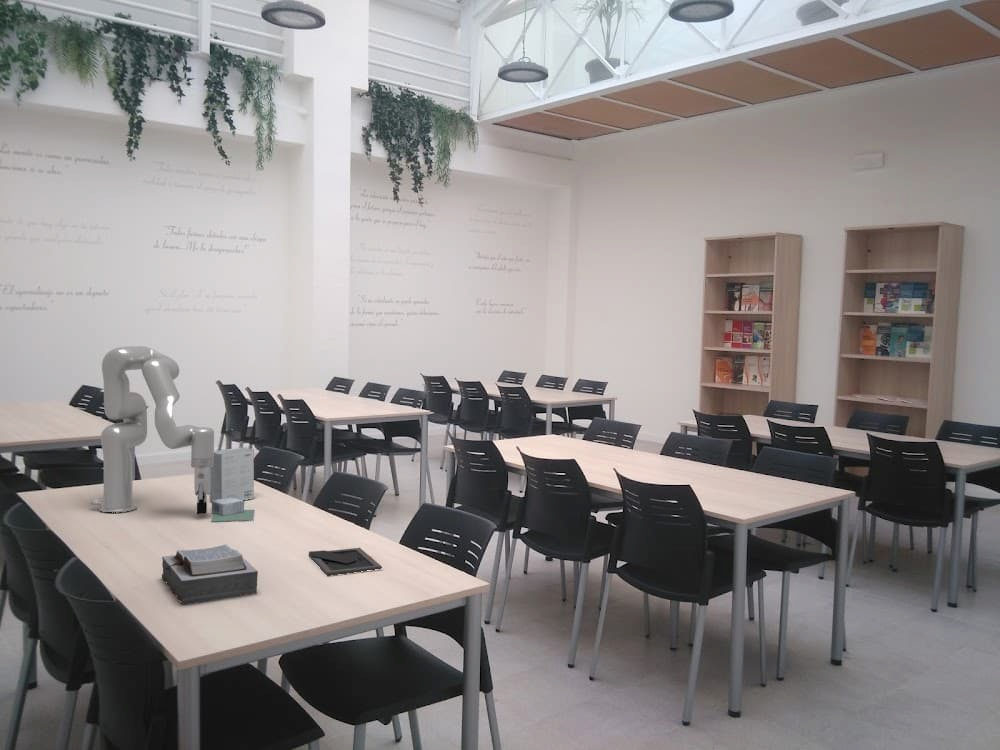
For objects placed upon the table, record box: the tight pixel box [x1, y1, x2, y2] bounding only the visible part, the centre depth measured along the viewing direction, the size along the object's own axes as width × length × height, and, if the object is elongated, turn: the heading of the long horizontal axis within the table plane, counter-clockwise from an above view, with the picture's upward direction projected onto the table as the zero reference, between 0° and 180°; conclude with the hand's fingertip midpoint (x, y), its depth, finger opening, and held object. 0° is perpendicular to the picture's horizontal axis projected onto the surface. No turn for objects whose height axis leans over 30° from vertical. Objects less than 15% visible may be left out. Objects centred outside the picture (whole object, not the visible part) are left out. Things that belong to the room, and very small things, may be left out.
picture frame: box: [308, 547, 383, 577], centre depth 238 cm, size 16×2×21 cm
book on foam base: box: [161, 544, 259, 605], centre depth 214 cm, size 23×27×10 cm
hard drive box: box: [209, 447, 255, 504], centre depth 313 cm, size 16×8×20 cm, turn 144°
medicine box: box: [211, 497, 245, 516], centre depth 293 cm, size 8×4×9 cm
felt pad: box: [210, 509, 255, 523], centre depth 289 cm, size 14×16×1 cm
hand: (201, 513), depth 287 cm, fingers closed
